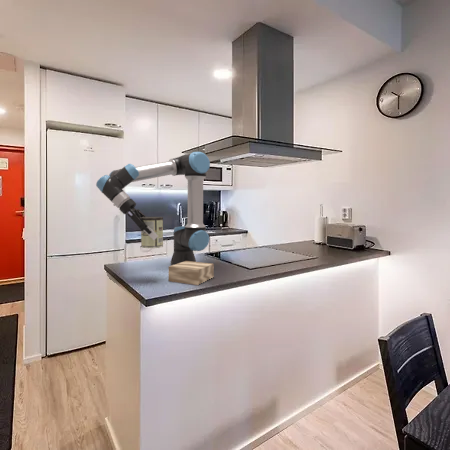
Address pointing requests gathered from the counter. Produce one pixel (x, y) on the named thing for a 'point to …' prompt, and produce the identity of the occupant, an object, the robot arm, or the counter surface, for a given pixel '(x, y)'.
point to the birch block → (191, 272)
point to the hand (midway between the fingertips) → (158, 236)
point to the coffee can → (157, 227)
